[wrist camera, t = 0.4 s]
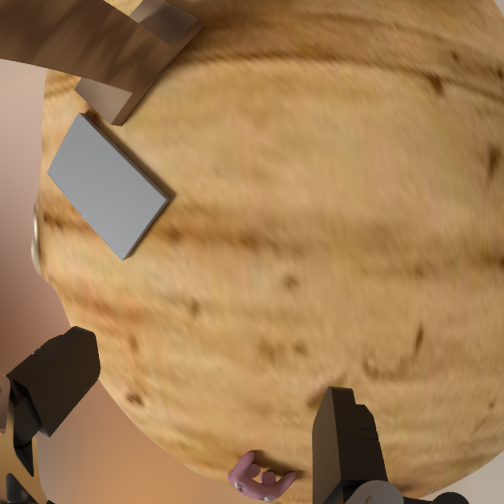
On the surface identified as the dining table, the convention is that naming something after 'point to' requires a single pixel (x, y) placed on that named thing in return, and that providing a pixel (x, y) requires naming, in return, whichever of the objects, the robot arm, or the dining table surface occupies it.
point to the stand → (98, 45)
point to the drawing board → (106, 186)
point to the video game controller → (253, 489)
